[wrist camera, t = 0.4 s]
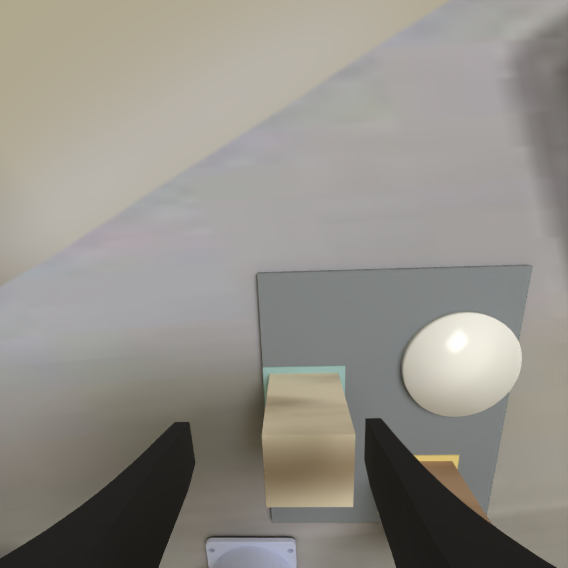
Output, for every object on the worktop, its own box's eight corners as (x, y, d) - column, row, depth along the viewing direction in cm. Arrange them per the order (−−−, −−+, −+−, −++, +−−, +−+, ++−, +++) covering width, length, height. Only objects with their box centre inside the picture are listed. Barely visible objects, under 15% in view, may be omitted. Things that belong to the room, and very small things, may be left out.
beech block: (337, 430, 23) (353, 507, 17) (272, 430, 23) (266, 507, 17) (338, 372, 22) (355, 434, 16) (269, 373, 22) (261, 435, 16)
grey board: (482, 517, 25) (486, 523, 25) (272, 517, 26) (271, 523, 25) (527, 264, 20) (533, 266, 19) (257, 272, 20) (256, 274, 20)
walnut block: (445, 509, 25) (492, 604, 19) (384, 510, 25) (412, 603, 19) (452, 460, 23) (505, 545, 17) (387, 461, 23) (419, 545, 18)
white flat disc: (505, 410, 22) (511, 416, 22) (397, 411, 22) (400, 417, 22) (524, 309, 20) (531, 312, 19) (404, 312, 20) (408, 315, 20)
